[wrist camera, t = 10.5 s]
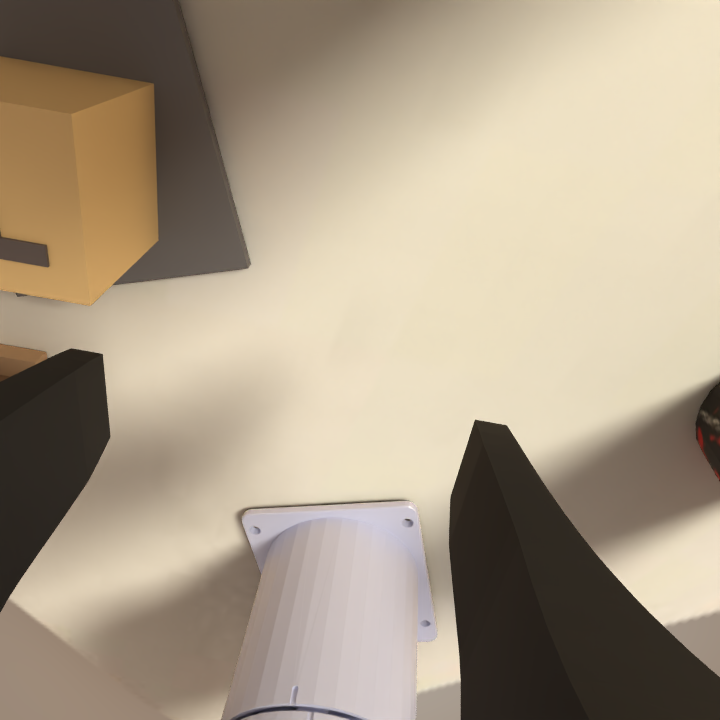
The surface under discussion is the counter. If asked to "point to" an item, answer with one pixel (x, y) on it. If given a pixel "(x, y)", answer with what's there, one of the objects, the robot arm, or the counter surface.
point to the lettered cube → (74, 179)
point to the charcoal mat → (172, 117)
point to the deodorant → (710, 429)
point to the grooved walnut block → (17, 360)
